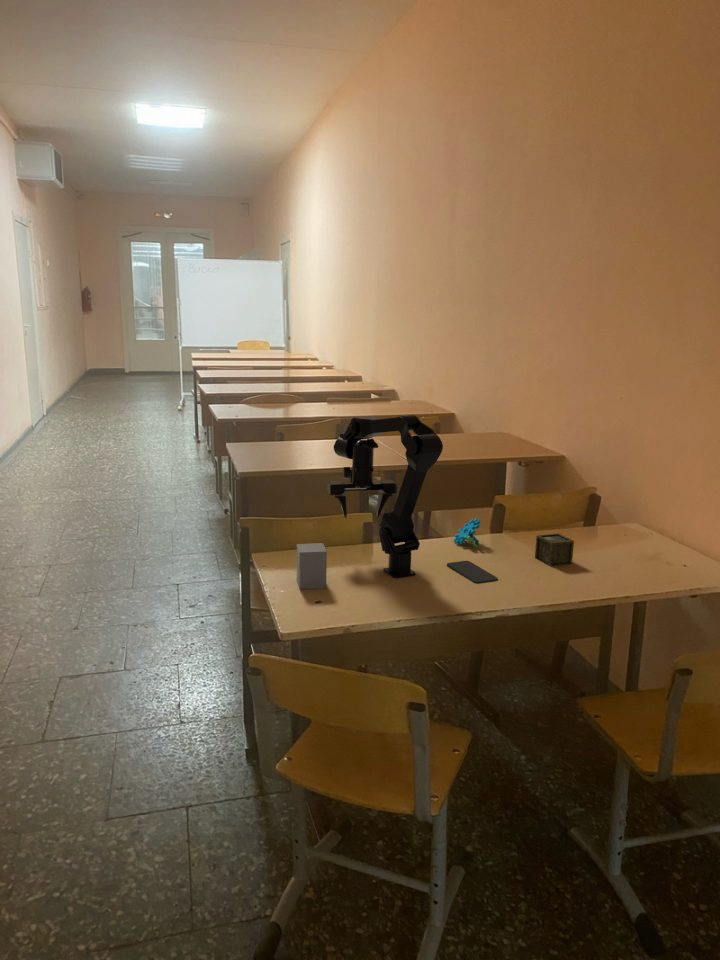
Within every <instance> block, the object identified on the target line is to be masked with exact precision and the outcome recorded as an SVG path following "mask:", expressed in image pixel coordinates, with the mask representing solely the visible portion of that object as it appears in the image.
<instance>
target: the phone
mask: <svg viewBox="0 0 720 960" xmlns="http://www.w3.org/2000/svg"><path fill="white" fill-rule="evenodd" d="M446 567H447V568H449V569H451V570H452V571H454V573H455V572H456V573H457V574H459V575H460V576H462V577H464V578H465V579H467V580H468V581H470V582H472V583H474V584H484V583H490V582H496V581H498V577H497V576H496V575H494V574H492V573H490V572H488V571H487V570H485V569H483V568H482V567H480V566H478V565H477V564H475V563H474V562H471V561H469V560H459V561H451V562H448V563H446Z"/></svg>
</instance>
